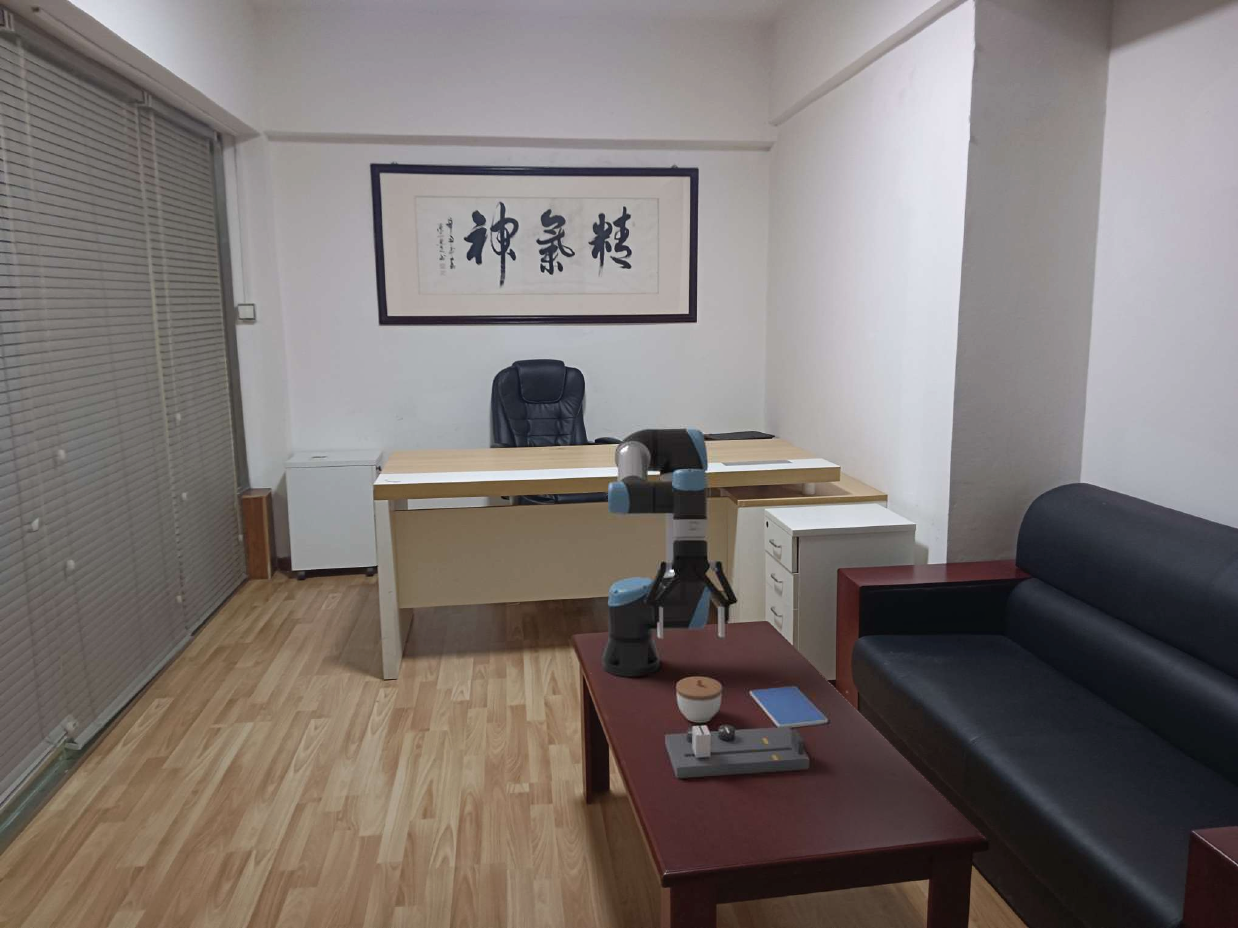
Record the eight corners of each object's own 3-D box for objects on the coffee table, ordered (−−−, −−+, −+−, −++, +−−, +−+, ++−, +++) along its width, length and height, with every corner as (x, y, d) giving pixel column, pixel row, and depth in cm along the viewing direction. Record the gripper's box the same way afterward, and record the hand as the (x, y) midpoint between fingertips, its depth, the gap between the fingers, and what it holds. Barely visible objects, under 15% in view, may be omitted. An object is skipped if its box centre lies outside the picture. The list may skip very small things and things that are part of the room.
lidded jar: (719, 729, 204) (720, 691, 202) (672, 725, 206) (673, 687, 204) (723, 708, 214) (724, 671, 212) (679, 704, 216) (679, 668, 214)
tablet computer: (748, 694, 222) (748, 689, 222) (795, 689, 225) (795, 684, 225) (778, 731, 204) (778, 725, 203) (829, 725, 206) (829, 719, 206)
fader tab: (692, 747, 190) (692, 725, 189) (706, 746, 190) (706, 724, 189) (696, 757, 186) (696, 734, 185) (710, 756, 186) (710, 733, 185)
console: (665, 744, 197) (665, 721, 196) (788, 736, 200) (789, 713, 199) (676, 778, 183) (676, 753, 182) (809, 768, 186) (809, 745, 185)
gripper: (636, 539, 191) (637, 639, 189) (750, 539, 194) (751, 637, 193) (631, 539, 199) (631, 636, 197) (740, 539, 202) (742, 634, 200)
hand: (691, 637), depth 195 cm, fingers open, 13 cm apart
